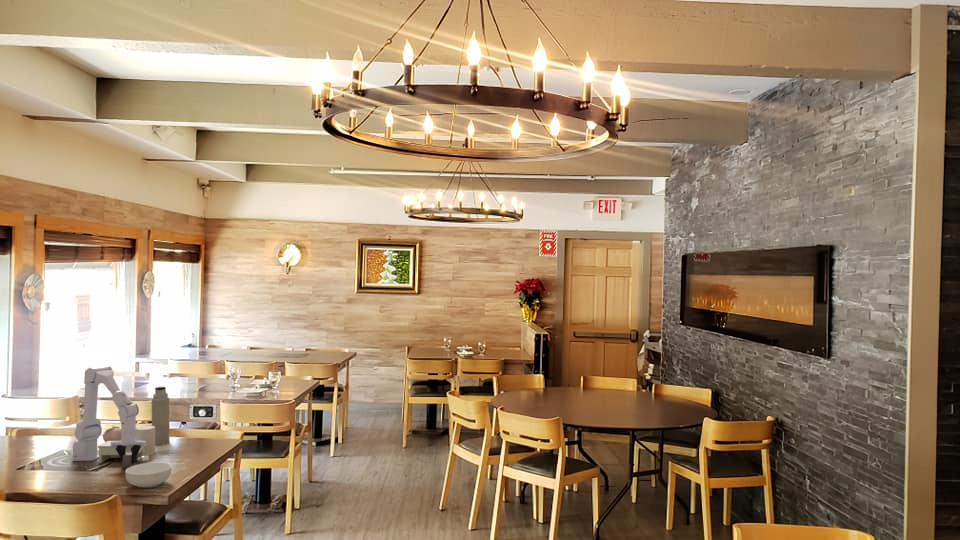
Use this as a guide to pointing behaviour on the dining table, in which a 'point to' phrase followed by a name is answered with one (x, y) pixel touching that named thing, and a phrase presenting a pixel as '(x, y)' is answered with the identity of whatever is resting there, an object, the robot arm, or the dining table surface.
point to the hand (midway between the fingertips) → (128, 462)
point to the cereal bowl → (148, 474)
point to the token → (142, 458)
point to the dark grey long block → (128, 460)
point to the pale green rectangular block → (113, 451)
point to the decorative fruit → (112, 434)
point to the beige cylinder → (147, 438)
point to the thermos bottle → (160, 415)
